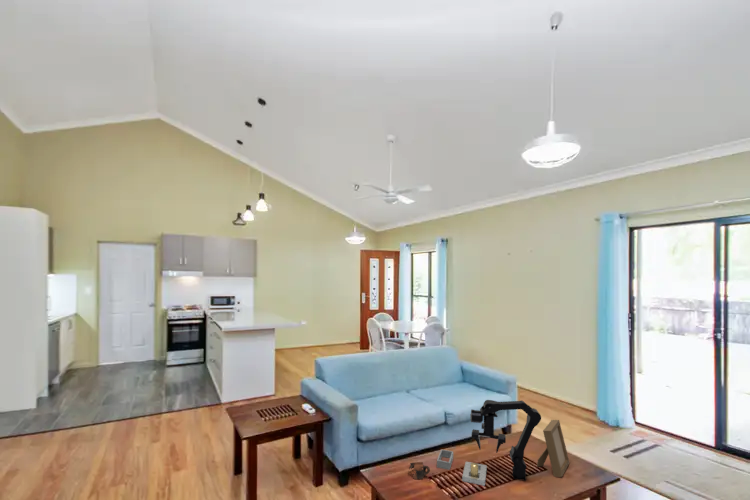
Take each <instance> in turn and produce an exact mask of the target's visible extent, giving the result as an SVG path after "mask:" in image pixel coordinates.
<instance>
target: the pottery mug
mask: <svg viewBox="0 0 750 500" xmlns="http://www.w3.org/2000/svg"><path fill="white" fill-rule="evenodd" d="M408 469H409V470H410V469H411V470H414V471H415V474H413V475H412V476H413V479H414V480H424V477H426V476H427V475H428V474H430V472H431V469H430V466H429V465H424V462H422V461H419V462H417V461H416V462H410V464H409V468H408Z"/></svg>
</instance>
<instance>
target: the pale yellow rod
mask: <svg viewBox="0 0 750 500" xmlns="http://www.w3.org/2000/svg"><path fill="white" fill-rule="evenodd" d="M478 464H479V463H477V462H471V477H475V478H478Z"/></svg>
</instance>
